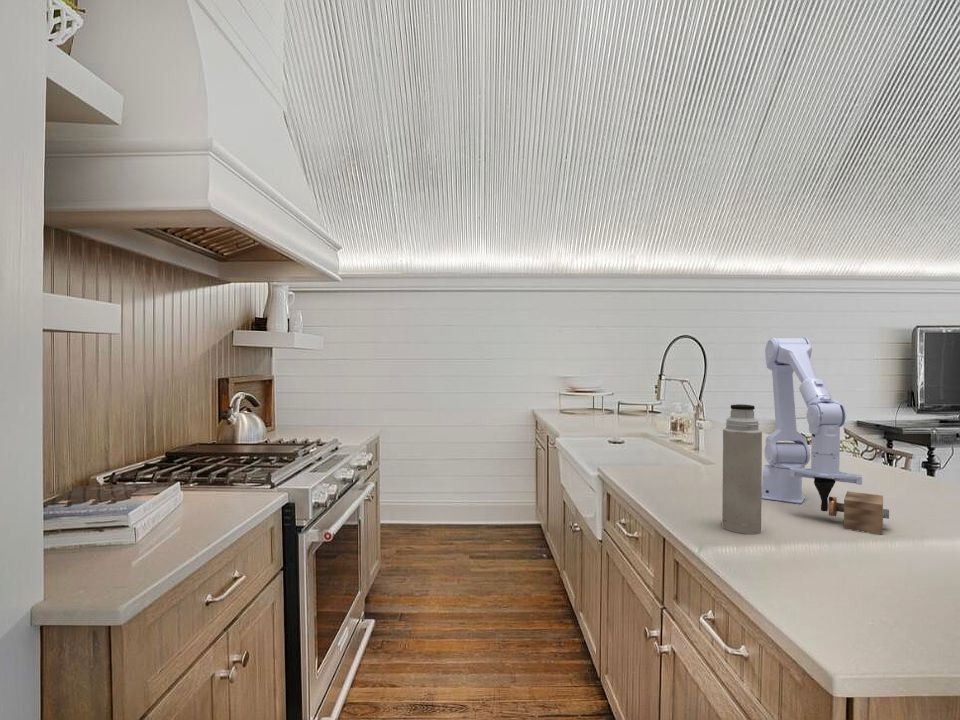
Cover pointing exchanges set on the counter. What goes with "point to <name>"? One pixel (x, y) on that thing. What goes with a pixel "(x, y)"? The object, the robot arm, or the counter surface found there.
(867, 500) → the bearing block
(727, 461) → the thermos bottle
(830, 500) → the copper capped shaft
